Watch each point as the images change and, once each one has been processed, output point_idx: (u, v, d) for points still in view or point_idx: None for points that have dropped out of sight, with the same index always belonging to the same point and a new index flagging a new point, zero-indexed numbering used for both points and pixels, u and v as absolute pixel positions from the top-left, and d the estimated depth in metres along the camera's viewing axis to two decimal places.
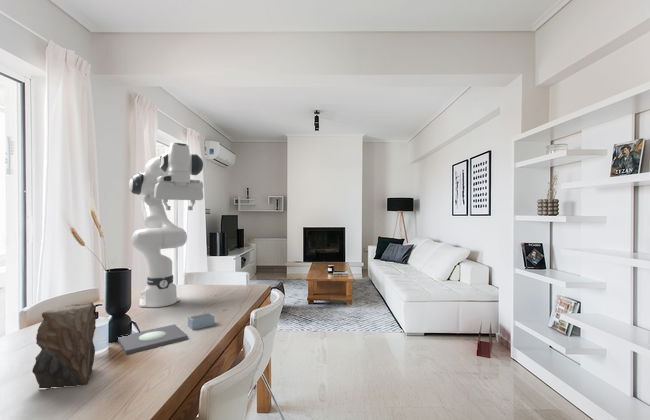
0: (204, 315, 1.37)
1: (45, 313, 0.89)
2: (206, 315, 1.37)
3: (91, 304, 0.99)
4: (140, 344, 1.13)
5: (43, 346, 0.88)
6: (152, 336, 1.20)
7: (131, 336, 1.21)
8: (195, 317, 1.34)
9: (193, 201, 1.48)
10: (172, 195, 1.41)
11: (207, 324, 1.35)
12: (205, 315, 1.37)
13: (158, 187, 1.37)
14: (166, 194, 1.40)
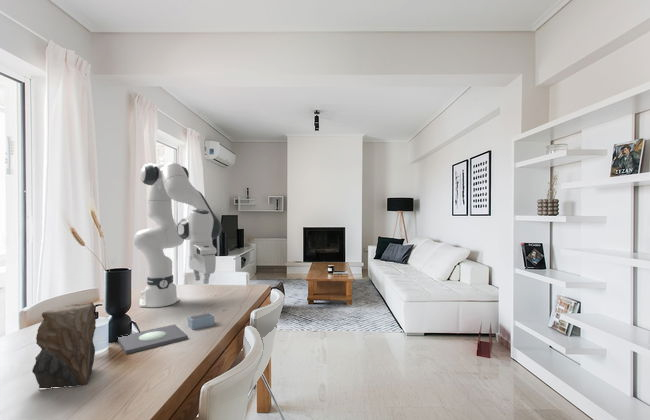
0: (204, 315, 1.37)
1: (45, 313, 0.89)
2: (206, 315, 1.37)
3: (91, 304, 0.99)
4: (140, 344, 1.13)
5: (43, 346, 0.88)
6: (152, 336, 1.20)
7: (131, 336, 1.21)
8: (195, 317, 1.34)
9: None
10: None
11: (207, 324, 1.35)
12: (205, 315, 1.37)
13: (215, 260, 1.31)
14: None
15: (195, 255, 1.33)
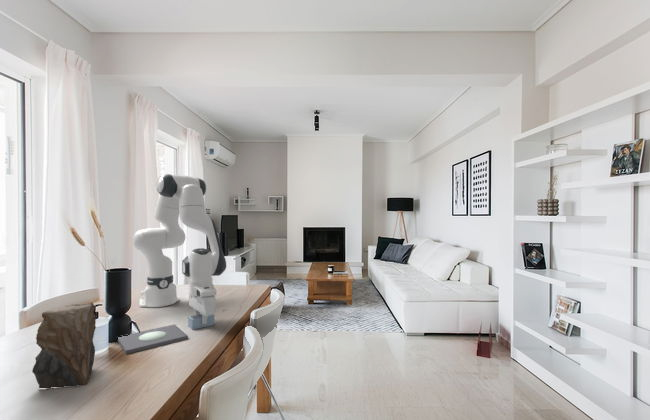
0: None
1: (45, 313, 0.89)
2: None
3: (91, 304, 0.99)
4: (140, 344, 1.13)
5: (43, 346, 0.88)
6: (152, 336, 1.20)
7: (131, 336, 1.21)
8: (195, 316, 1.34)
9: None
10: None
11: (207, 323, 1.35)
12: None
13: None
14: None
15: (195, 295, 1.33)
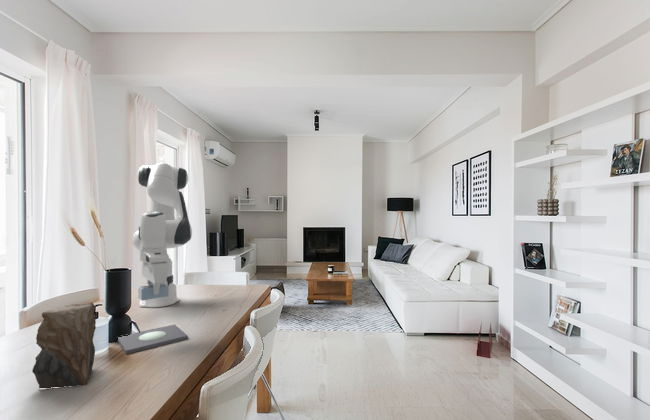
0: None
1: (45, 313, 0.89)
2: None
3: (91, 304, 0.99)
4: (140, 344, 1.13)
5: (43, 346, 0.88)
6: (152, 336, 1.20)
7: (131, 336, 1.21)
8: (146, 286, 1.20)
9: None
10: None
11: (160, 295, 1.21)
12: None
13: (167, 269, 1.16)
14: None
15: (145, 263, 1.19)
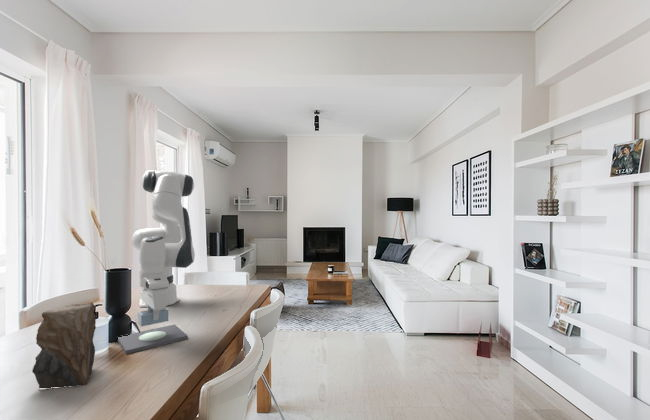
0: None
1: (45, 313, 0.89)
2: None
3: (91, 304, 0.99)
4: (140, 344, 1.13)
5: (43, 346, 0.88)
6: (152, 336, 1.20)
7: (131, 336, 1.21)
8: (146, 312, 1.20)
9: None
10: None
11: (160, 320, 1.20)
12: None
13: (167, 295, 1.16)
14: None
15: (145, 288, 1.19)
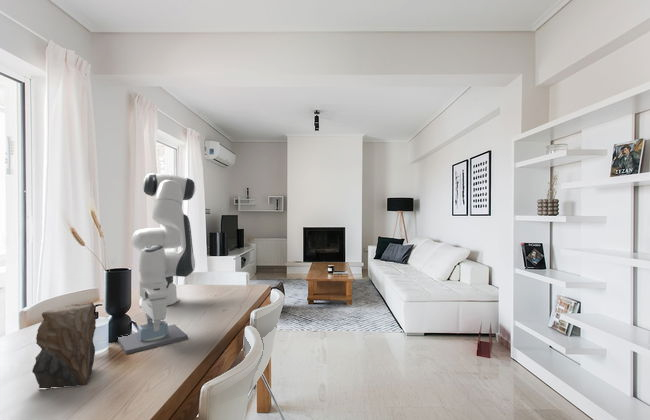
0: None
1: (45, 313, 0.89)
2: None
3: (91, 304, 0.99)
4: (140, 344, 1.13)
5: (43, 346, 0.88)
6: None
7: (131, 336, 1.21)
8: (145, 326, 1.20)
9: None
10: None
11: (159, 333, 1.21)
12: None
13: None
14: None
15: (145, 298, 1.19)
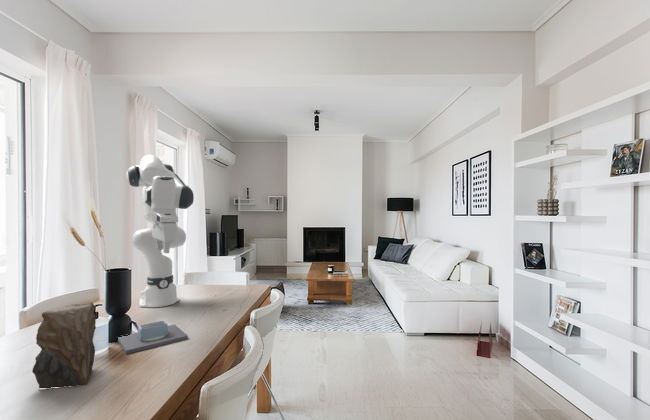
0: (156, 323, 1.22)
1: (45, 313, 0.89)
2: (159, 323, 1.22)
3: (91, 304, 0.99)
4: (140, 344, 1.13)
5: (43, 346, 0.88)
6: None
7: (131, 336, 1.21)
8: (145, 326, 1.20)
9: None
10: None
11: (159, 334, 1.20)
12: (158, 323, 1.22)
13: (176, 229, 1.24)
14: None
15: (156, 223, 1.27)
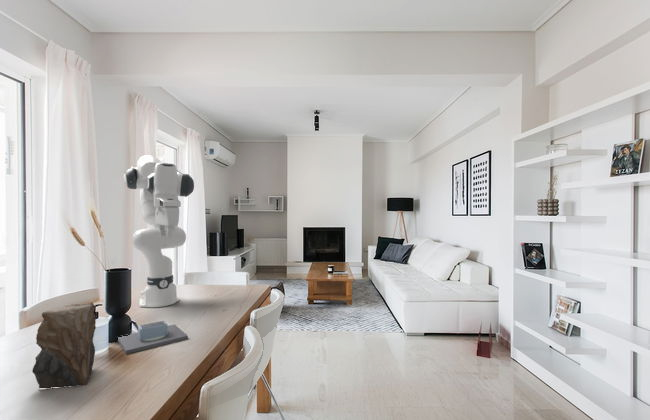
0: (156, 323, 1.22)
1: (45, 313, 0.89)
2: (159, 323, 1.22)
3: (91, 304, 0.99)
4: (140, 344, 1.13)
5: (43, 346, 0.88)
6: None
7: (131, 336, 1.21)
8: (145, 326, 1.20)
9: (164, 226, 1.38)
10: None
11: (159, 334, 1.20)
12: (158, 323, 1.22)
13: None
14: None
15: (159, 208, 1.30)
